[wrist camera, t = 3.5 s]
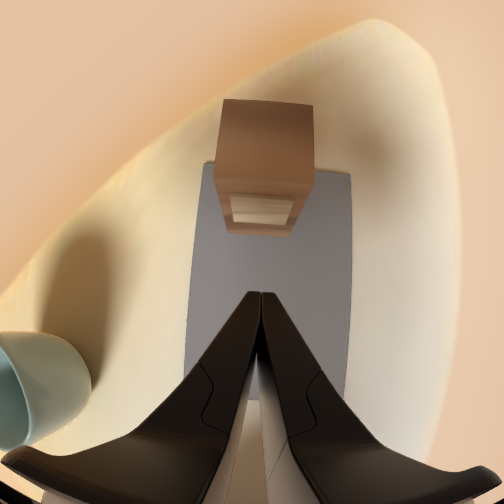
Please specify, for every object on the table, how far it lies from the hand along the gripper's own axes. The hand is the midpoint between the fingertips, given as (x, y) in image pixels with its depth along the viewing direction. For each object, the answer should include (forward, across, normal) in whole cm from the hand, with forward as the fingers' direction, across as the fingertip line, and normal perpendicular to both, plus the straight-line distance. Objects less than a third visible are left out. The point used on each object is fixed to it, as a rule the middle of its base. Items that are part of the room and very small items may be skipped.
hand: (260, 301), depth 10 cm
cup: (+4, +15, +15) cm, 22 cm away
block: (+15, 0, +4) cm, 15 cm away
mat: (+11, -1, +8) cm, 14 cm away
